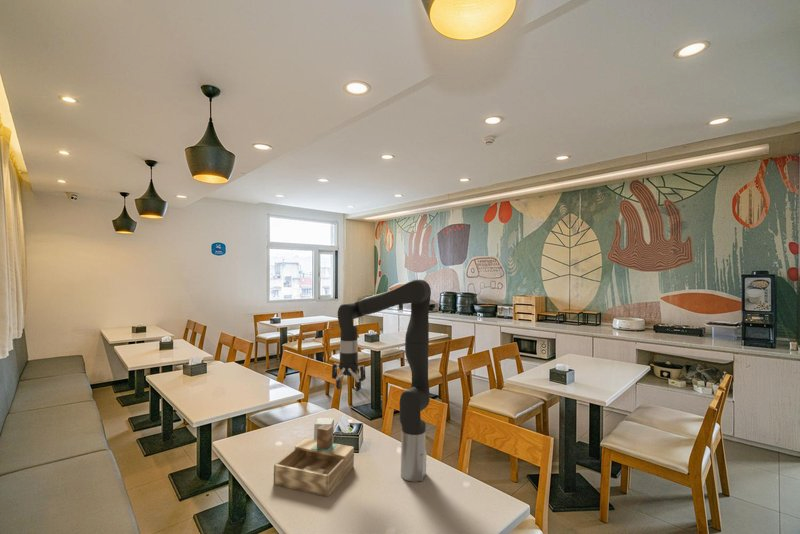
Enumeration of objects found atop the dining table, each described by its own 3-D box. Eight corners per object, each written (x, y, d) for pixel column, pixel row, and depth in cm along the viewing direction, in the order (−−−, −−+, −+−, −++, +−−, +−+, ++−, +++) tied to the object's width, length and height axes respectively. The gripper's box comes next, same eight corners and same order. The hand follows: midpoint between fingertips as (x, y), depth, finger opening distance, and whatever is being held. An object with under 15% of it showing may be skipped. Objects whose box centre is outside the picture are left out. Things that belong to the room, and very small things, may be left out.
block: (332, 444, 144) (333, 425, 145) (326, 449, 140) (327, 430, 140) (322, 442, 146) (323, 424, 146) (316, 447, 141) (317, 428, 142)
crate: (353, 466, 143) (354, 446, 143) (327, 497, 123) (328, 473, 123) (305, 457, 150) (306, 437, 150) (273, 484, 130) (274, 462, 130)
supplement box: (330, 454, 152) (331, 424, 153) (312, 454, 153) (313, 424, 153) (333, 446, 160) (334, 417, 160) (317, 445, 160) (318, 417, 160)
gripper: (367, 350, 152) (367, 388, 151) (337, 348, 156) (336, 385, 155) (361, 353, 145) (360, 394, 144) (329, 351, 148) (328, 391, 148)
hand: (348, 389), depth 149 cm, fingers open, 8 cm apart
